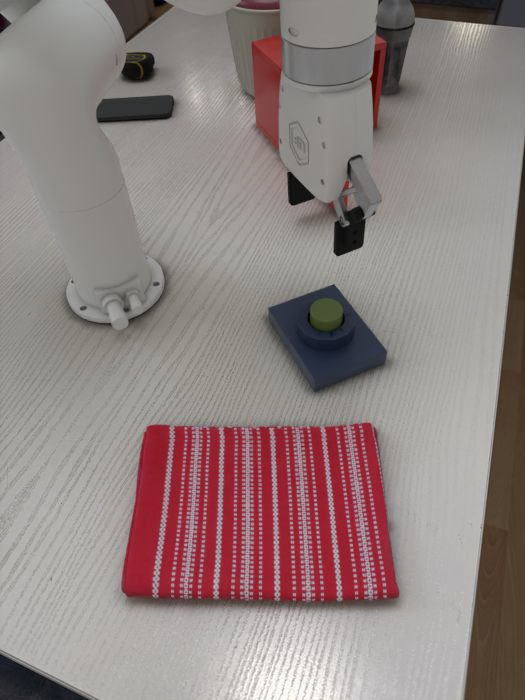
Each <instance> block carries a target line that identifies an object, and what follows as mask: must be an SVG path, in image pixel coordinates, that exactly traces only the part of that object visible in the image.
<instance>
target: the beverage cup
mask: <svg viewBox="0 0 525 700" xmlns="http://www.w3.org/2000/svg"><path fill="white" fill-rule="evenodd" d="M415 19H416V13H415V8H414V5H413V4H412V2H411V0H382V1H381V2H380V3H378V12H377V23H376V35H377V36H379V37H380V38H382V39H383V40H385V41H386V42H387V45H386V53H385V62H384V70H383V78H382V86H381V95H392V94H394V93H396V92H397V91H398V88H399V85H400V82H401V77H402V73H403V68H404V63H405V59H406V55H407V50H408V47H409V42H410V38H411V36H412V33H413V30H414V27H415V26H416V25H415V24H416V20H415Z"/></svg>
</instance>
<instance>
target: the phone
mask: <svg viewBox="0 0 525 700" xmlns="http://www.w3.org/2000/svg"><path fill="white" fill-rule="evenodd" d="M174 102H175V99H174V96H173V95H171V94H163V95H161V94H160V95H145V96H129V97H127V96H126V97H112V98H111V97H110V98H103V99H102V101H101V102H100V104H99V105H98V107H97V109H96V118H97V121H98V122H109V121H127V120H143V119H158V118H159V119H160V118H168V117H170V116H171V115H172V114H173V113H172V112H173V107H174Z"/></svg>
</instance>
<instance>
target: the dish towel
mask: <svg viewBox="0 0 525 700" xmlns="http://www.w3.org/2000/svg"><path fill="white" fill-rule="evenodd" d="M145 428H146V429H145V431H144V432H143V435H142V436H143V437H142V440H141V441H142V442H141V447H140V451H139V458H138V459H139V460H138V467H137V475H136V487H135V498H134V499H135V500H134V506H133V511H132V516H131V522H130V528H129V533H128V539H127V544H126V549H125V556H124V562H123V566H122V575H121V592H122V593H123V594H125V596H126V597H129V598H143V597H144V598H146V597H147V598H154V599H172V600H173V599H179V600H194V599H196V600H231V601H235V600H239V601H248V602H249V601H250V602H251V601H274V602H303V603H304V602H305V603H314V602H321V603H323V602H345V601H346V602H347V601H354V602H355V601H377V600H388V599H389V600H390V599H398V598H399V597H400V589H399V586H398V582H397V579H396V571H395V563H394V557H393V551H392V549H393V547H392V542H391V541H392V540H391V532H390V527H389V526H390V525H389V519H388V517H389V516H388V507H387V500H386V499H387V498H386V491H385V484H384V475H383V467H382V461H381V453H380V446H379V445H380V444H379V441H378V431H377V428H376V427H374V426H373V423H371V422H366V421H365V422H356V423H347V424H346V423H345V424H340V425H333V426H332V425H331V426H325V425H320V426H317V425H315V426H312V425H311V426H309V425H296V426H295V425H289V426H285V425H284V426H283V425H276V426H274V425H273V426H270V425H269V426H267V425H264V426H262V425H261V426H260V425H250V426H248V425H247V426H243V425H242V426H231V425H229V426H217V425H215V426H213V425H212V426H210V425H199V426H198V425H183V424H179V425H176V424H174V425H171V424H150V425H147V426H146V427H145Z"/></svg>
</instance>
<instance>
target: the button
mask: <svg viewBox="0 0 525 700" xmlns="http://www.w3.org/2000/svg"><path fill="white" fill-rule="evenodd" d="M342 316H343V308H342V306H341V304H340V303H339V302H337V301H336V300H333V299H329V298H324V299H319V300H317V301H315V302H314V303H313V304H312V305H311V308H310V323H311V325H312V326H313V327H314V328H315V329H316V330H318V331H321V332H331V331H334V330H336V329H338V328H339V327H340V325H341V323H342Z"/></svg>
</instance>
